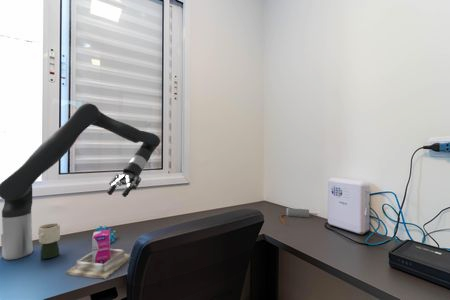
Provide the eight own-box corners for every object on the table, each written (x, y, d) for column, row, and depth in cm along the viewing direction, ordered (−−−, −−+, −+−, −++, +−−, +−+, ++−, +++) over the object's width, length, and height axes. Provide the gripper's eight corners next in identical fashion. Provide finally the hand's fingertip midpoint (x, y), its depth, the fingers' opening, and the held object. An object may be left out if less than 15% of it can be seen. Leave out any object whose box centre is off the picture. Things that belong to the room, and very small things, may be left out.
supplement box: (92, 267, 86) (91, 237, 85) (94, 260, 91) (93, 231, 91) (109, 264, 88) (109, 234, 88) (110, 257, 93) (110, 229, 93)
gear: (101, 245, 103) (92, 227, 106) (94, 253, 104) (84, 235, 107) (121, 239, 113) (112, 222, 116) (114, 247, 114) (105, 230, 118)
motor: (280, 213, 153) (280, 206, 152) (316, 216, 147) (317, 208, 146) (278, 232, 131) (278, 223, 130) (321, 236, 125) (321, 227, 124)
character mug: (50, 250, 102) (49, 221, 101) (67, 250, 102) (66, 221, 102) (30, 263, 91) (29, 230, 91) (49, 263, 91) (48, 230, 91)
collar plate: (66, 274, 83) (65, 264, 83) (98, 253, 99) (98, 245, 99) (105, 279, 80) (105, 269, 80) (132, 256, 96) (132, 248, 96)
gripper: (119, 161, 112) (98, 188, 101) (143, 162, 107) (123, 191, 96) (128, 170, 117) (109, 198, 106) (150, 172, 112) (133, 201, 101)
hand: (116, 195), depth 101 cm, fingers open, 8 cm apart
